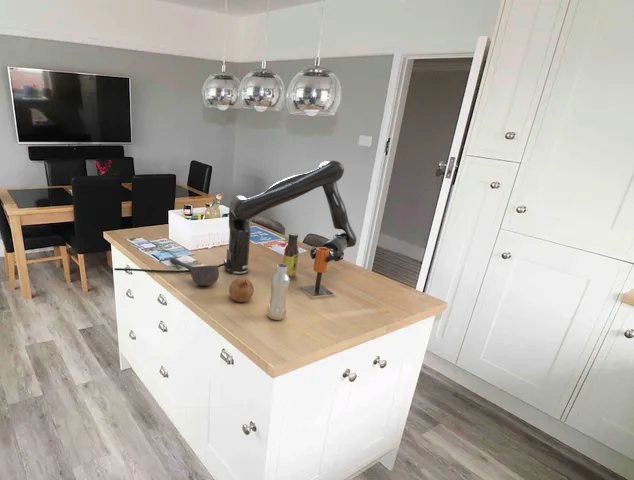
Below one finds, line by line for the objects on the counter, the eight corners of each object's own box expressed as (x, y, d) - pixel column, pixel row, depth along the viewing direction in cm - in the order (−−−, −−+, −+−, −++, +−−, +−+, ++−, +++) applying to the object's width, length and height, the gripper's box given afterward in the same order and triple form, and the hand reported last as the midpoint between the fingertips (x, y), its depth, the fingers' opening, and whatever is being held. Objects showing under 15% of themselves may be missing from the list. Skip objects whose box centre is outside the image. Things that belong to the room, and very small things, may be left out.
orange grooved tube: (317, 272, 166) (320, 251, 163) (310, 268, 171) (314, 247, 167) (328, 272, 168) (332, 250, 164) (321, 267, 173) (325, 246, 169)
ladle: (200, 288, 163) (199, 262, 161) (159, 279, 194) (158, 258, 192) (225, 286, 170) (225, 261, 168) (181, 278, 200) (181, 257, 199)
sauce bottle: (294, 280, 184) (300, 237, 175) (280, 278, 185) (285, 235, 176) (296, 275, 190) (301, 233, 181) (282, 273, 191) (287, 231, 182)
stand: (312, 298, 168) (316, 270, 163) (300, 288, 176) (304, 261, 171) (333, 296, 171) (338, 268, 166) (320, 286, 180) (324, 260, 175)
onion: (244, 311, 159) (249, 294, 152) (223, 300, 161) (226, 283, 153) (255, 295, 165) (260, 278, 158) (234, 285, 167) (238, 268, 159)
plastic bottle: (265, 313, 152) (270, 261, 144) (283, 314, 153) (290, 262, 145) (267, 321, 146) (273, 268, 138) (286, 322, 147) (293, 269, 139)
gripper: (318, 236, 180) (304, 245, 166) (351, 243, 174) (338, 253, 160) (316, 253, 183) (301, 263, 169) (347, 260, 177) (335, 271, 163)
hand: (319, 258), depth 165 cm, fingers closed on orange grooved tube, 5 cm apart
